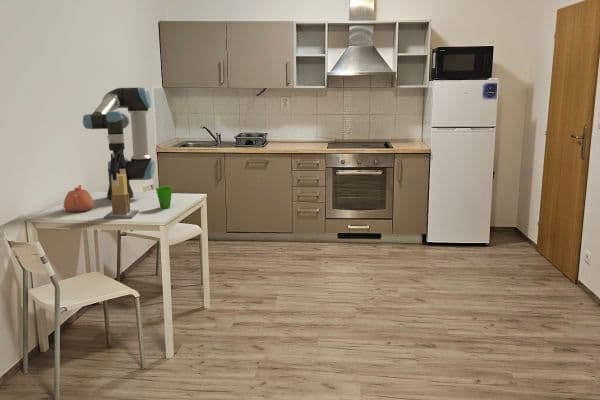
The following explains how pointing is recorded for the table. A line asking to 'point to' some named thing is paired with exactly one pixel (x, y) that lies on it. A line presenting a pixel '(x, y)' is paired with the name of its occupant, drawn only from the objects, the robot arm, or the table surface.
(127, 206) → the walnut block
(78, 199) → the orange rounded lump
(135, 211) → the board
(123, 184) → the mustard block
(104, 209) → the table surface
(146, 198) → the table surface
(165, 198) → the cup
